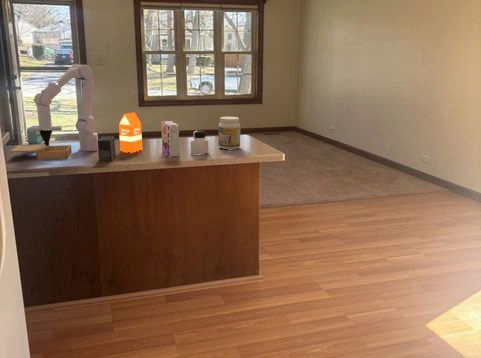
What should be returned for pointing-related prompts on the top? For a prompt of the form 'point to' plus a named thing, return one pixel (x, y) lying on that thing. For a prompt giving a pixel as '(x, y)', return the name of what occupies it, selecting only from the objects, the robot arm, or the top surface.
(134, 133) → the orange juice
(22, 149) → the mailer lid
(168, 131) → the candy box
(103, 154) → the small box
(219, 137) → the supplement tub
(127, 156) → the top surface
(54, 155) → the mailer box
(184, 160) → the top surface
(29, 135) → the data package
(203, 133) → the medicine bottle
